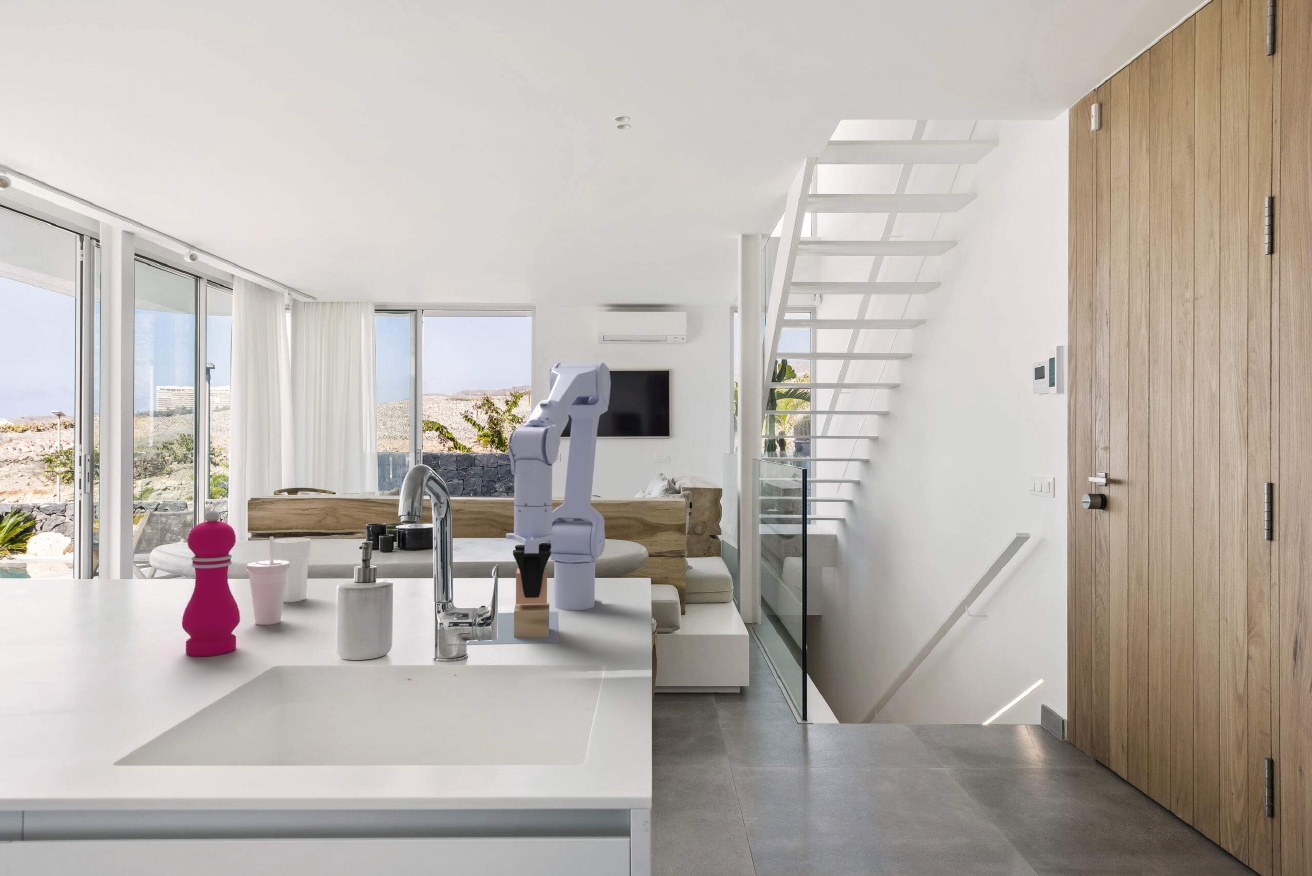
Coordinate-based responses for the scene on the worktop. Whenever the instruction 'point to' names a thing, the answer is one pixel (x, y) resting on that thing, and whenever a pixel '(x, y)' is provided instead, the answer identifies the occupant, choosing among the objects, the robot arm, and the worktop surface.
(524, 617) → the oak base block
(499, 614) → the board
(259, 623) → the smoothie
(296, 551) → the cup
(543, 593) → the terracotta block
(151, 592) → the worktop surface
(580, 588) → the robot arm
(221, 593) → the pepper mill
